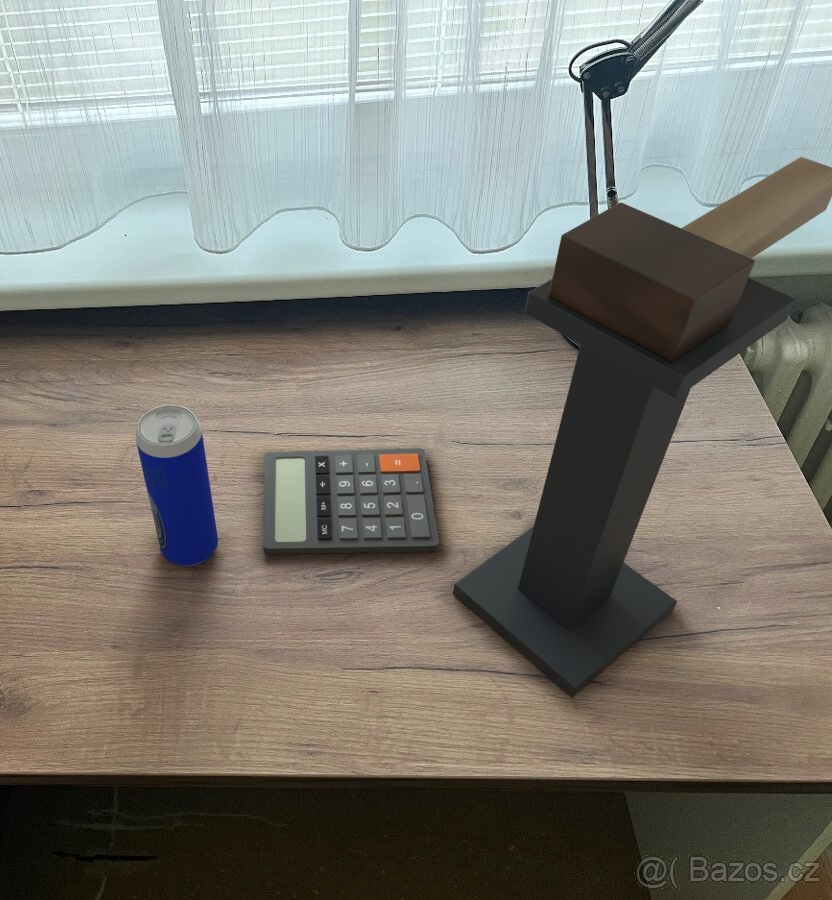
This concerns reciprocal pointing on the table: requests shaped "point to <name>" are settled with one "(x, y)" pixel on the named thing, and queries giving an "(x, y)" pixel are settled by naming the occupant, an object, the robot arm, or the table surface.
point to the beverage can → (177, 483)
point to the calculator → (348, 502)
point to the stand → (600, 494)
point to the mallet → (681, 260)
